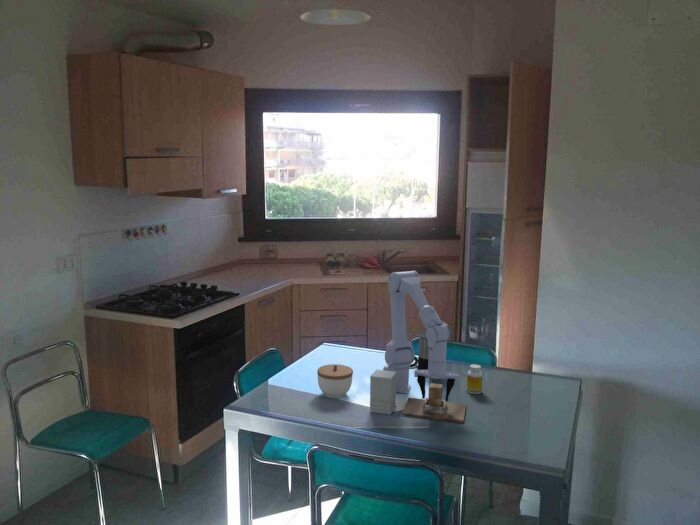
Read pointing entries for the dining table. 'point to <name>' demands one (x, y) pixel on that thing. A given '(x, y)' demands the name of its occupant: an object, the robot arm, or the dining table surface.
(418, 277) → the robot arm
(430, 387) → the brown wooden block
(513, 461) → the dining table surface
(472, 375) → the supplement bottle
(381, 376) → the supplement box
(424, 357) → the milk frother
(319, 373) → the lidded bowl
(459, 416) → the holder board
